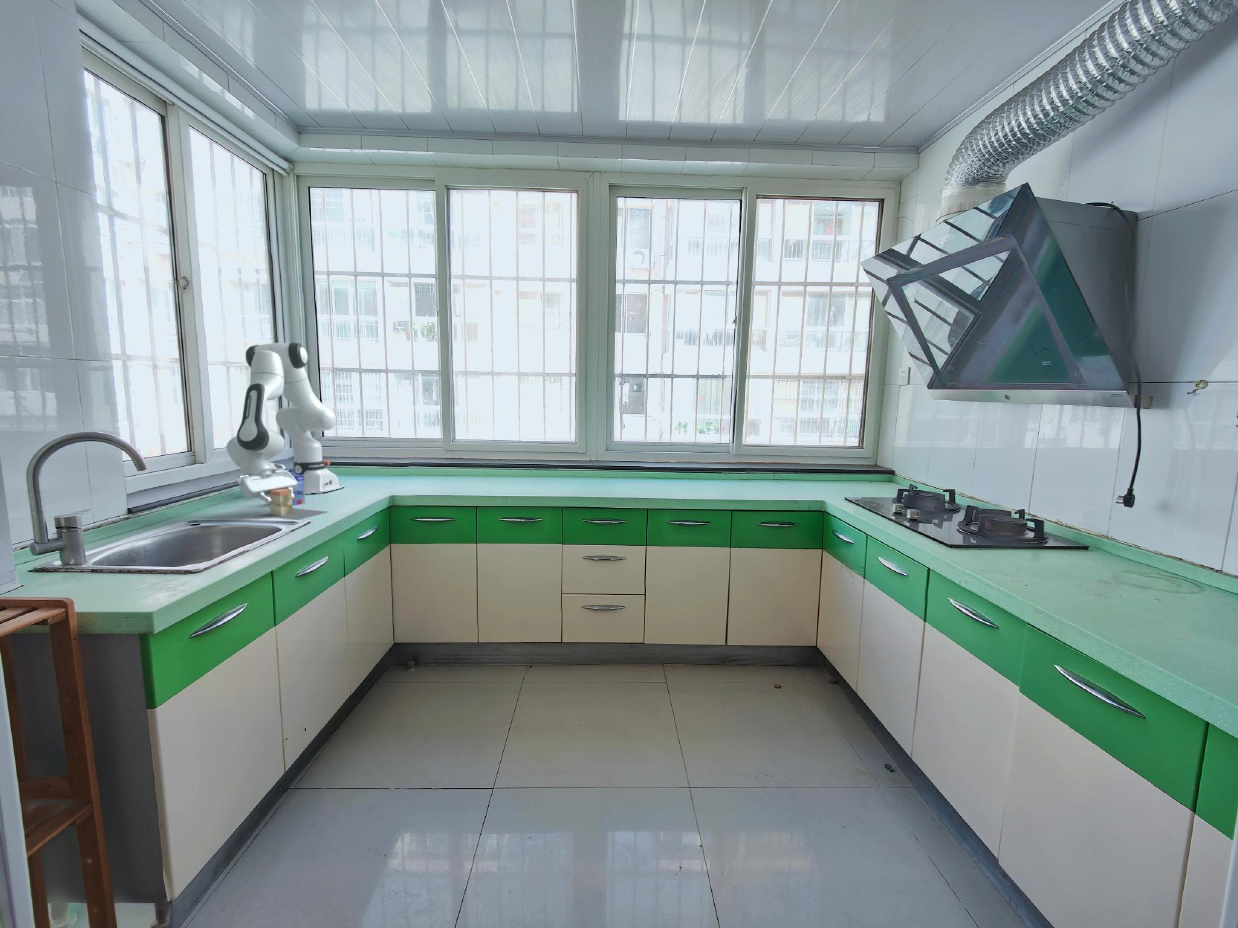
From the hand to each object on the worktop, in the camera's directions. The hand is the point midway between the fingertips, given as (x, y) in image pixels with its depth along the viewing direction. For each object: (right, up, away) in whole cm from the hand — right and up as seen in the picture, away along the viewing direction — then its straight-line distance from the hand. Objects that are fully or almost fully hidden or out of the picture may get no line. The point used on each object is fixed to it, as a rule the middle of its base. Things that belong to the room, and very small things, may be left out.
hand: (281, 500), depth 199 cm
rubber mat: (+4, -6, +2) cm, 7 cm away
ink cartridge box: (-9, -3, +20) cm, 22 cm away
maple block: (0, -5, +1) cm, 5 cm away
